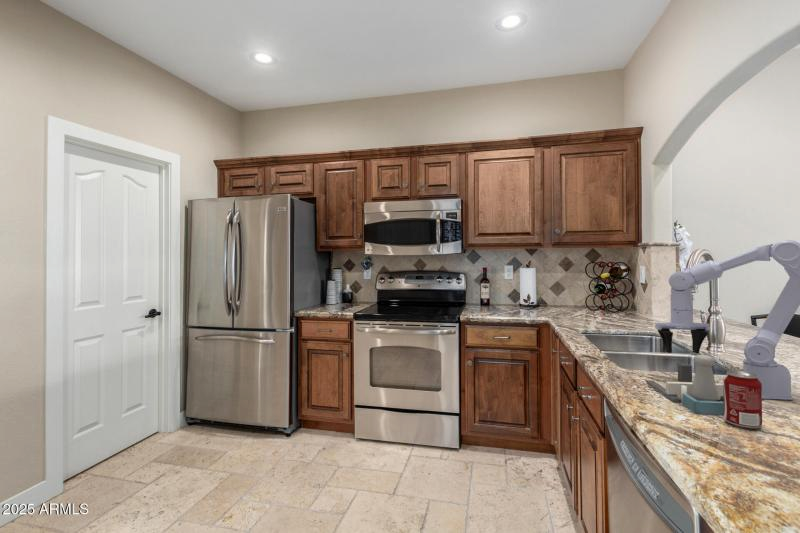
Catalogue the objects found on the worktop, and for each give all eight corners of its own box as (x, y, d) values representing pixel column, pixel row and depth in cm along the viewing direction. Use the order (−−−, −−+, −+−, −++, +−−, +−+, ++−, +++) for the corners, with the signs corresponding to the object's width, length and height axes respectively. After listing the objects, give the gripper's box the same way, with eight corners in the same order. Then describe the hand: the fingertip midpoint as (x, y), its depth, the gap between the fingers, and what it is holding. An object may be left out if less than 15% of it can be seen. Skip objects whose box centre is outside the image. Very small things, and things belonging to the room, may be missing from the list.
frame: (732, 405, 102) (732, 387, 102) (751, 416, 95) (750, 396, 95) (680, 403, 105) (680, 385, 104) (695, 413, 98) (695, 394, 98)
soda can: (765, 433, 86) (765, 379, 86) (726, 426, 90) (725, 375, 90) (758, 422, 92) (757, 371, 92) (721, 416, 95) (720, 368, 95)
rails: (700, 385, 119) (700, 382, 119) (737, 405, 102) (737, 401, 102) (646, 383, 122) (646, 380, 122) (673, 402, 105) (673, 399, 105)
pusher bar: (710, 389, 114) (710, 364, 114) (729, 399, 105) (729, 372, 105) (654, 387, 117) (654, 362, 117) (668, 397, 108) (668, 370, 108)
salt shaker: (723, 408, 100) (722, 358, 100) (698, 407, 102) (697, 358, 102) (710, 400, 106) (710, 353, 106) (687, 399, 107) (686, 352, 107)
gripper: (700, 308, 125) (700, 350, 125) (650, 308, 128) (651, 349, 128) (713, 310, 118) (714, 355, 118) (660, 310, 121) (661, 354, 121)
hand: (682, 352), depth 123 cm, fingers open, 7 cm apart
